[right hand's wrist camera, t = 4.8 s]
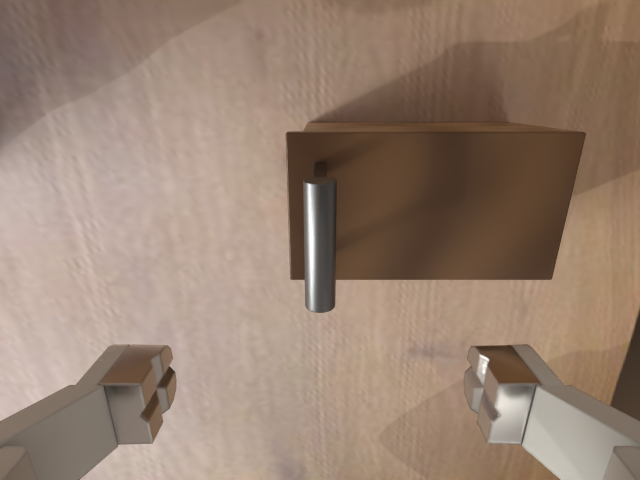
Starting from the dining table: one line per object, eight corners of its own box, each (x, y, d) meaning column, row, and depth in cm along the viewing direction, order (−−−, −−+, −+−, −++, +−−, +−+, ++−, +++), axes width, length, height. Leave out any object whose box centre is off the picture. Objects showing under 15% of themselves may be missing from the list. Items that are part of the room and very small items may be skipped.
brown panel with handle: (291, 274, 27) (280, 339, 20) (286, 131, 23) (271, 146, 16) (545, 274, 27) (628, 340, 19) (577, 131, 23) (692, 146, 16)
